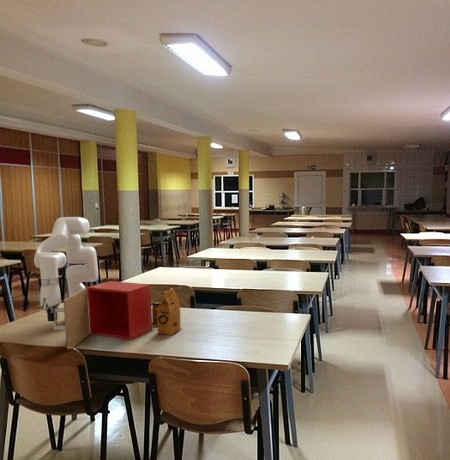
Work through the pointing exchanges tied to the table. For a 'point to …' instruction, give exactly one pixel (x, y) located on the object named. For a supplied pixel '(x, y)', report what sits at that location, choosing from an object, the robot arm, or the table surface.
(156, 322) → the condiment
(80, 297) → the door
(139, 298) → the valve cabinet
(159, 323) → the coffee package
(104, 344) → the table surface
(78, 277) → the robot arm
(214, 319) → the table surface
